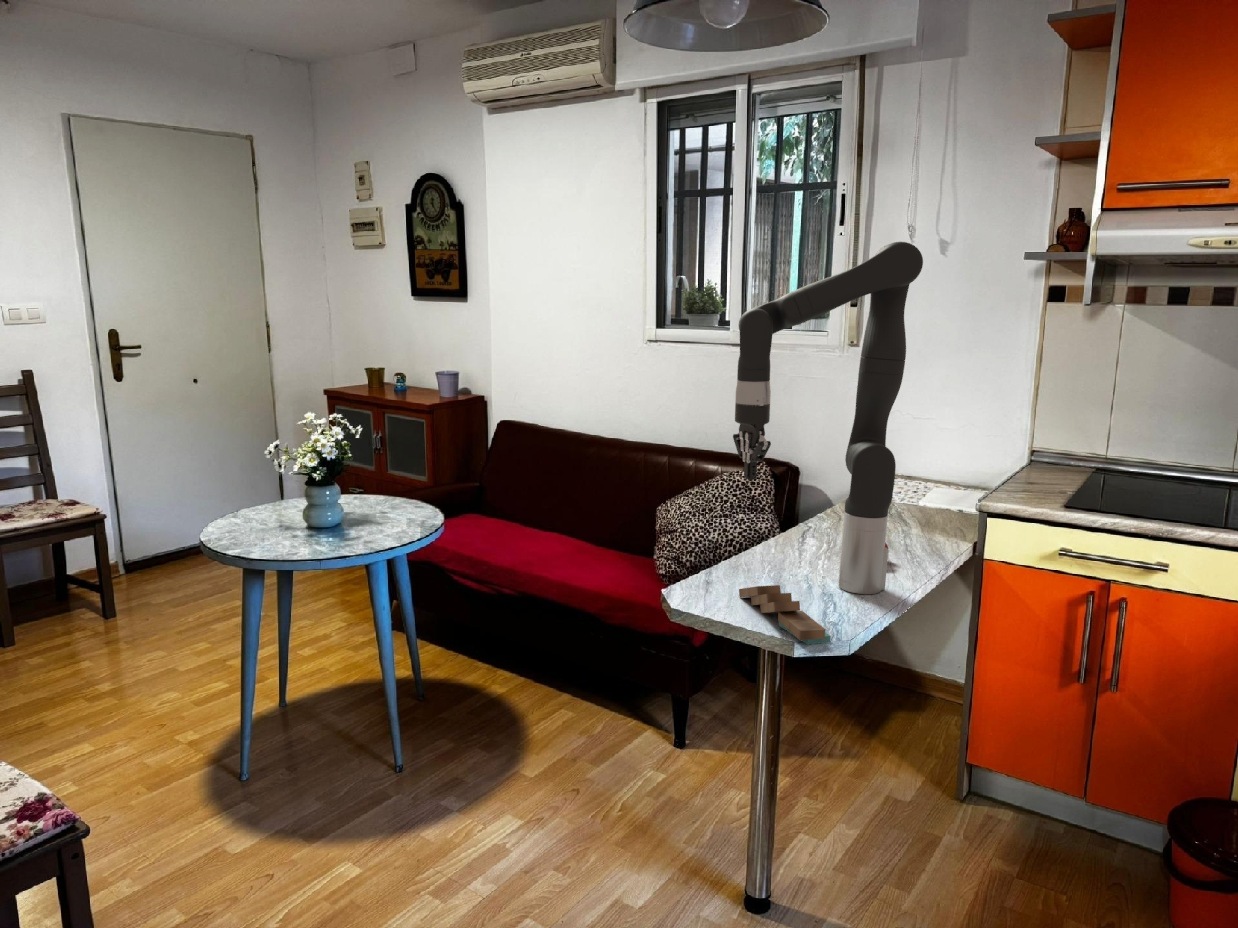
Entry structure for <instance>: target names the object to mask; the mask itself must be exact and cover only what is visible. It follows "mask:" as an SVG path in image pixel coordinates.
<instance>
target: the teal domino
mask: <svg viewBox="0 0 1238 928" xmlns="http://www.w3.org/2000/svg"><path fill="white" fill-rule="evenodd" d="M778 626H779V627H780V628H782V629H783V630H785V631H786V630H787V631H786V632H787V633H789V634H790V635H792V633H791V632H790V631H789V630H788V629H787V628H785V627H784V626H783V625H782V624H781V623H780V622H779V621H778ZM793 636H794V637H795V635H793ZM801 642H803V643H804V644H806V645H814V644H820V643H830V642H831V635H830V634H829V633H827V632H825V639H811V640H802V641H801Z"/></svg>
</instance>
